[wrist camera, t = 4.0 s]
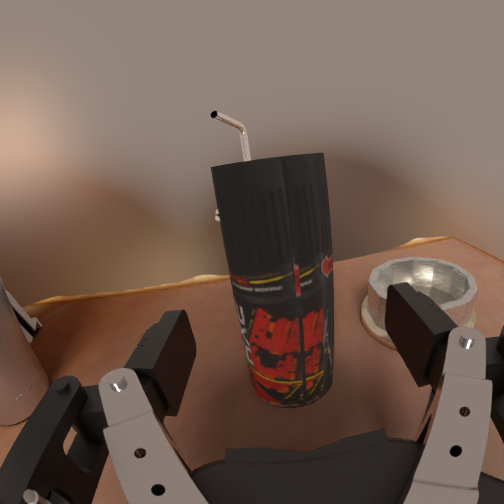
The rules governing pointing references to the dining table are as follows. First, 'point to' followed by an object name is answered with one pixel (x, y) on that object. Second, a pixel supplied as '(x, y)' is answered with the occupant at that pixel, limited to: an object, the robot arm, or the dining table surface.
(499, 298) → the dining table surface
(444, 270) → the silver bowl
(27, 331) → the hinge
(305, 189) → the deodorant
